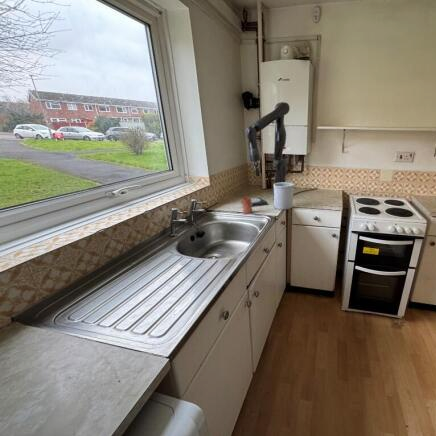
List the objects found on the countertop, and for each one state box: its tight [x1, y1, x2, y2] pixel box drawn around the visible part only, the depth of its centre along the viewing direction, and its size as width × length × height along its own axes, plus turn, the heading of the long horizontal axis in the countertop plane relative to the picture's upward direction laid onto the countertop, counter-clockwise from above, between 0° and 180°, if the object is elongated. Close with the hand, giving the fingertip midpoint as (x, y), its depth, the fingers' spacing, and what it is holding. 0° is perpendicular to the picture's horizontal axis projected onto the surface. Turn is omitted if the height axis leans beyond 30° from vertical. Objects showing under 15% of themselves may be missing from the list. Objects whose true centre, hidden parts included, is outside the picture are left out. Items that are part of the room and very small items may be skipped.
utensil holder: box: [272, 181, 294, 211], centre depth 172 cm, size 15×15×18 cm
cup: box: [241, 196, 253, 214], centre depth 162 cm, size 6×6×10 cm
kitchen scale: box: [251, 197, 268, 208], centre depth 184 cm, size 16×14×3 cm
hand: (257, 176), depth 180 cm, fingers open, 8 cm apart
